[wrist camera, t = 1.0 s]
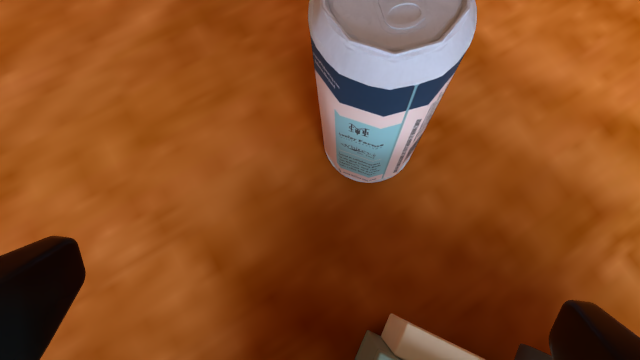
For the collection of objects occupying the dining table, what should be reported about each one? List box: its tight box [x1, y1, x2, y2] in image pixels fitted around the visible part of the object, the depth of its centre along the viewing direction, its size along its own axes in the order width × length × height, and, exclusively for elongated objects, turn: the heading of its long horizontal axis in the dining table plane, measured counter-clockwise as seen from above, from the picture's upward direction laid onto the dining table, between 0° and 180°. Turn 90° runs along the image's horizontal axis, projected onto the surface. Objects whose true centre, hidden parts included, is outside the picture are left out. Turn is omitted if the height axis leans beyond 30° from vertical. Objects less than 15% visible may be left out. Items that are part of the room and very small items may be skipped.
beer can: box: [308, 0, 477, 183], centre depth 16 cm, size 5×5×12 cm
